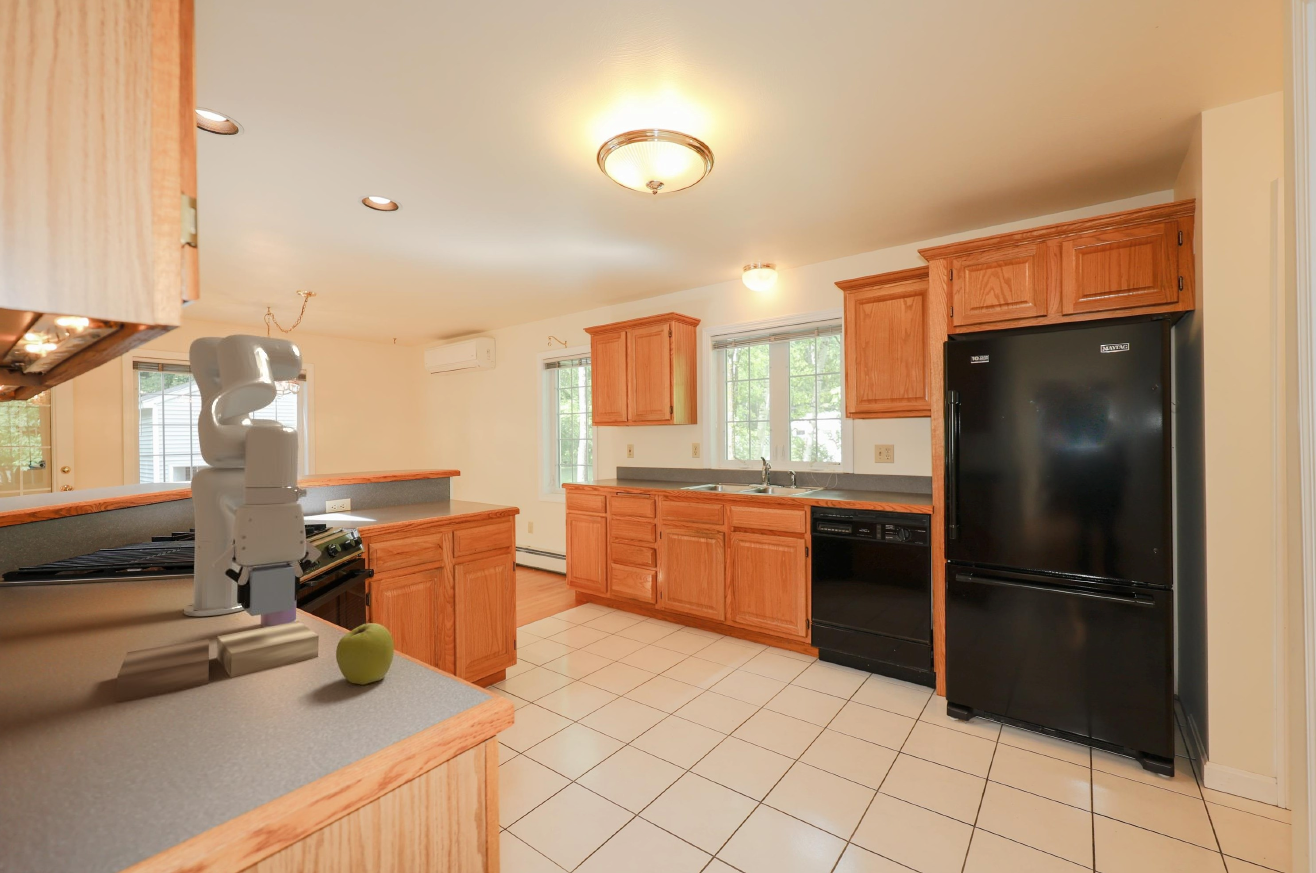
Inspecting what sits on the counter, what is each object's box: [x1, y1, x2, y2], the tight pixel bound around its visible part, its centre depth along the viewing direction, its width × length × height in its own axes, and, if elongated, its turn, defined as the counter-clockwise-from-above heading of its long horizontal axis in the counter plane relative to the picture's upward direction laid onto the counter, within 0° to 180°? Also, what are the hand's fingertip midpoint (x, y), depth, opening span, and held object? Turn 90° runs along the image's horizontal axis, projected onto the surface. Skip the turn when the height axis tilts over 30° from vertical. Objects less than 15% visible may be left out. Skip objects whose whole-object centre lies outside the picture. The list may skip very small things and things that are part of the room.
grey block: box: [243, 563, 295, 617], centre depth 96 cm, size 6×6×7 cm
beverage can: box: [260, 563, 298, 628], centre depth 114 cm, size 6×6×15 cm
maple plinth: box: [216, 620, 320, 678], centre depth 96 cm, size 12×12×4 cm
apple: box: [335, 617, 395, 685], centre depth 86 cm, size 8×8×10 cm
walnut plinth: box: [116, 638, 210, 703], centre depth 86 cm, size 12×10×4 cm
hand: (269, 602), depth 96 cm, fingers closed on grey block, 6 cm apart
